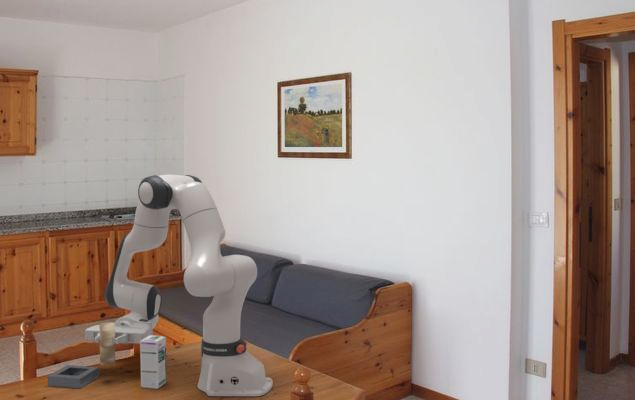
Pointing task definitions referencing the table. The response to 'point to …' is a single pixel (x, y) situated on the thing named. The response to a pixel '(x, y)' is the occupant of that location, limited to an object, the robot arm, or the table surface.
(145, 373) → the syrup box
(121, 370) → the table surface
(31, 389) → the table surface
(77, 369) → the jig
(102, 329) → the peg
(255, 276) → the robot arm
